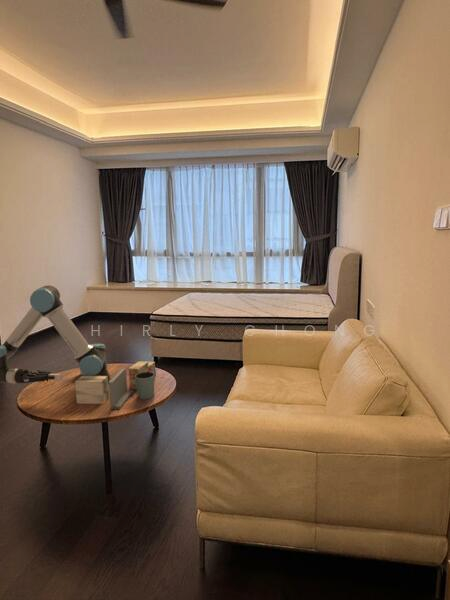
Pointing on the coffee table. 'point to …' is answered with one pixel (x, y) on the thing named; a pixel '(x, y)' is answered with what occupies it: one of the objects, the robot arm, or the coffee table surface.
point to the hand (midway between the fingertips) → (61, 376)
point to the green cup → (145, 384)
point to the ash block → (92, 389)
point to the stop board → (119, 390)
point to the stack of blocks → (140, 368)
